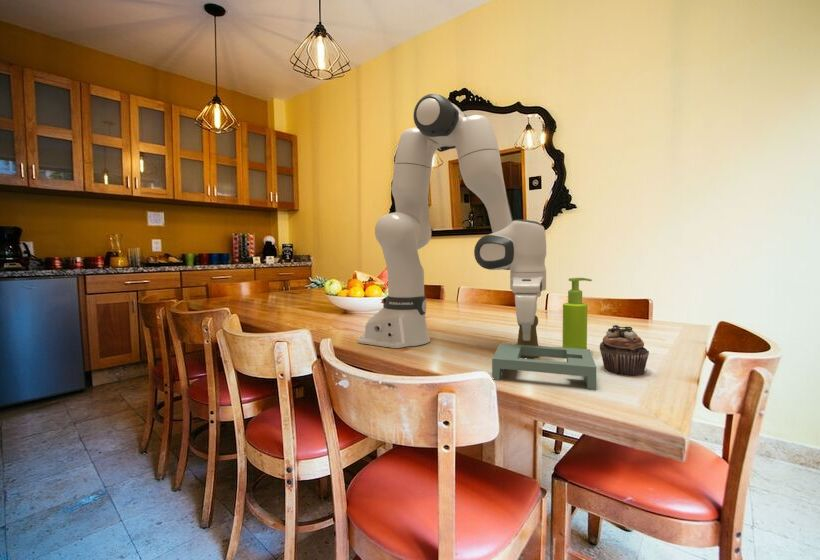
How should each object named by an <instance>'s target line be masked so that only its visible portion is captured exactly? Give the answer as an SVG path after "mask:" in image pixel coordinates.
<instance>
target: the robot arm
mask: <svg viewBox="0 0 820 560" xmlns="http://www.w3.org/2000/svg"><path fill="white" fill-rule="evenodd" d="M413 122H414V124H415V126H416V127H408V128H407V129H405V130H403V131H402V133H401V135H400V137H399V139H398V140H399V141H398V144H397V149H396V152H395V157H394V158H395V159H394V164H393V165H394V166H393V174H392V175H393V176H392V183H391V194H392V197H393V200H394V206H395V211H394V212H390V213H386V214H384V215H382V216H381V217H380V218H378V220H377V222H376V223H375V227H374V236H375V239H376V241H377V242H378V243H379V245H380V247H381V250H382V253H383V259H384V261H385V265H386V273H387V291H388V292H387V293H388V295H386V297H384V298H381V299H380V301H381V302H380V304H382V308H381V309H380V310H379V311H378V312H376V313H375V314H374V315H373V316H372V317H370V318H369V319H368V321H367V322H366V323H365V329H364V334H362V335H360V336H359V337H358V338H357V343H358V344H362V345H363V344H364V345H365V344H366V345H371V346H378V347H386V348H392V349H400V348H405V347H406V348H407V347H415V346H416V347H417V346H421V345H422V346H423V345H425V344H428V343H430V342H431V338H430V334H429V331H428V325H427V317H426V313H427V297H426V295H425V271H424V267H423V266H422V263H421V261H420V254H419V250H421V249H422V248H423V247H425V246H427V245H428V244H429V242H430V241H431V239H432V229H431V225H430V212H429V210H430V209H429V190H430V184H431V183H430V182H431V173H432V167H433V166H432V165H433V157H434V154H435V153H436V151H438V152H440V153H442V152H445V151H448V150H453V149H456V153H457V154H456V155H457V161H458V166H459V171H460V175H461V178H462V181H463V183H464V185H465V186H466V188H467V189H469V190H470V191H471V192H472V193H473V194H475V195H476V197H478V198H479V199H480V200H481V202H482V203H483V204H484V207H485V209H486V211H487V216H488V219H489V224H490V228H491V232H492V233H489V234H486V235H484V236H482V237H480V238H479V239H478V240H477V241H476V244H475V245H474V250H473V254H474V256H473V257H474V259H475V260H476V261H475V262H476V263H477V264H478V265H479V266H480V268H481V267H482V268H483V269H486V270H489V271H490V270H491V271H500V270H501V271H502V270H503V271H504V270H505V271H510V272H509V273H510V274H509V275H510V277H509V278H510V279H509V281H510V282H509V284H510V285H509V288H510V291H511V292H512V293H513V294H514V304H515V306H514V307H515V314H516V315H515V316H516V321H517V325H518V324H519V325H522V332H523V340H524V341H529V340H530V338H531V325H533V323H534V319H535V315H536V314H537V310H538V309H537V308H538V307H537V305H538V303H537V302H538V298H539V297H542V294H541V293H542V292H543V291H546V290H547V268H546V265H545V263H546V262H545V261H546V257H547V240H546V239H547V237H546V230H545V227H544V225H542V223H540V222H538V221H534V220H528V219H513V215H512V211H511V207H510V202H509V198H508V194H507V190H506V184H505V180H504V172H503V167H502V166H503V165H502V161H501V160H502V159H501V154H500V149H499V144H498V140H497V137H496V133H495V130H494V128H493V125H492V122H491V120H490V119H489V118H488V117H487V116H485V115H481V114H472V115H469V116H467V115H466V114H464V112H463V111H462V110H461V109H460V107H458V105H456V104H454V103H452V102H451V101H450V100H449V99H448V98H447V97H445V96H443V95H440V94H437V93H429V94H426V95H424V96H422V97H421V98H420V99H419V100H418V102H417V103H416V104H415V106H414V110H413ZM536 316H537V315H536ZM519 325H518V326H519Z"/></svg>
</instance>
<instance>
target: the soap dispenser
mask: <svg viewBox="0 0 820 560" xmlns="http://www.w3.org/2000/svg"><path fill="white" fill-rule="evenodd" d="M568 281H569V282H571V289H569V290H568V292H567V293H568V294H567V295H568V296H567V302H564V303H562V348H577V349H588V304H586V303H584V302H583V290H581V289H580V285H579V284H580V281H582V282H583V281H586V282H592V281H593V279H590V278H586V277H572V278H570V277H569V278H568Z"/></svg>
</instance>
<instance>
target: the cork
mask: <svg viewBox="0 0 820 560" xmlns="http://www.w3.org/2000/svg"><path fill="white" fill-rule="evenodd" d="M538 323H539V317H538V316H537V315H535V319H534V323H533V325H531V338H530V340H529V341H524V340H523V332H522V325H519V324H518V323H517V325H518V326H519V328H518V335H517V342H516V344H517V345H532V346H539V341H538V332H537V326H538ZM520 358H522V359H523V358H527V359H534V360H536V359H535V358H537V359H539V358H540V356H527V355H521V356H520Z"/></svg>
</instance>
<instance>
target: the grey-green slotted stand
mask: <svg viewBox="0 0 820 560" xmlns="http://www.w3.org/2000/svg"><path fill="white" fill-rule="evenodd" d="M562 347H563V346H562ZM562 347H560V346H559V347H558V346H544V345H538V346H532V345H517V343H515V344H514V343H501V342H500V343H499V345H498V347H497V349H496V351H495V353H494V354H493V357H492V358H491V361H492V362H491V363H492V365H491V366H492V367H491V368H492V369H491V373H492V376H491V377H493V378H494V379H493V380H494V381H495V380H496V381H500V379H501V377H502V375H501V374H503V372H504V370H510V371H511V370H512V371H525V372H534V373H543V374H555V375H567V376H577V377H584V380H585V384H586V388H587V390H593V391H595V390H596V391H597V365H596V362H595V360H594V358H593V355H592V353H591V352H592V351H591V350H590V349H588V348H587V349H577V348H562ZM521 355H527V356H540V357H542V358H555V359H566V361H558V360H557V361H556V360H546V359H545V360H544V359H543V360H542V359H523V358H520V356H521ZM540 357H539V358H540ZM503 369H504V370H503Z"/></svg>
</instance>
